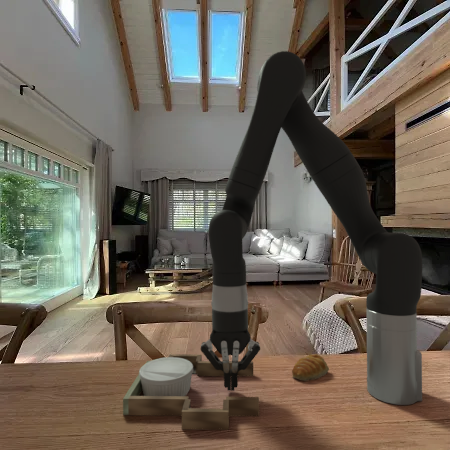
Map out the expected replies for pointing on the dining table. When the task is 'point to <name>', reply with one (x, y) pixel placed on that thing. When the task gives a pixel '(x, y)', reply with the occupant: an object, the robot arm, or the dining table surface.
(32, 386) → the dining table surface
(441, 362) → the dining table surface
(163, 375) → the ramekin
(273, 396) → the dining table surface
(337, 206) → the robot arm
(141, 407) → the box
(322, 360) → the pastry
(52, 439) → the dining table surface
